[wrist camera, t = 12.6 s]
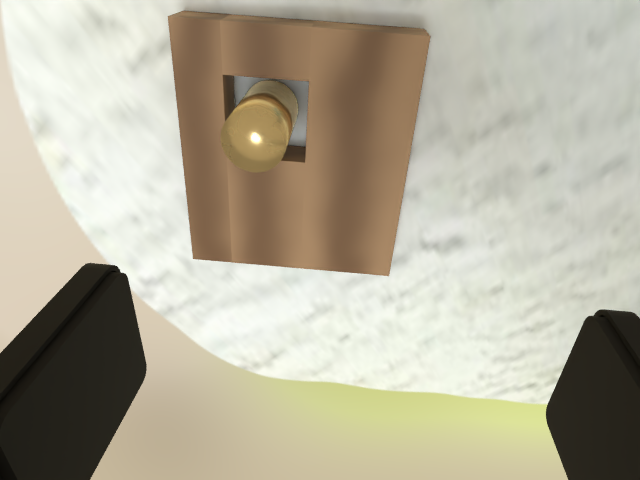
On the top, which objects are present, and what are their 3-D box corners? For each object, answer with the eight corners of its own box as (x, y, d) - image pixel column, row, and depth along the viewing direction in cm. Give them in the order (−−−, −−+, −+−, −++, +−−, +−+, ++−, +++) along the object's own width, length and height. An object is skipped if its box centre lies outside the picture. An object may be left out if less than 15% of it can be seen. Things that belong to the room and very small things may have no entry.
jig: (424, 28, 30) (430, 36, 28) (386, 255, 40) (388, 275, 38) (183, 10, 31) (167, 16, 28) (203, 239, 40) (193, 258, 38)
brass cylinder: (299, 82, 33) (286, 111, 27) (297, 136, 35) (285, 174, 29) (243, 77, 33) (218, 106, 27) (244, 132, 35) (222, 169, 29)
